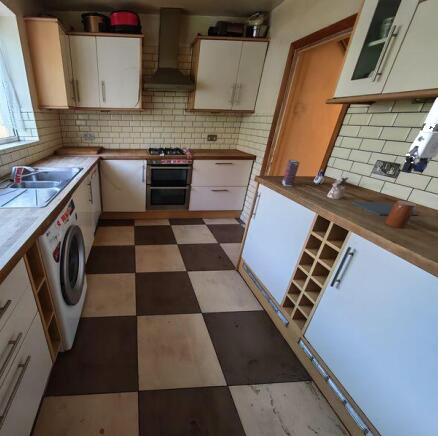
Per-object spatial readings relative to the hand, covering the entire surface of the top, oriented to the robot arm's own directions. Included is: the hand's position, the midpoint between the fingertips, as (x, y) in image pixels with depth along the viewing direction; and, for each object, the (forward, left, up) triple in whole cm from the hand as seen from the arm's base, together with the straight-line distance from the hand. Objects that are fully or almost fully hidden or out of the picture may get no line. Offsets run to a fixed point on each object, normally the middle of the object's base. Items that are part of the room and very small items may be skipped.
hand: (411, 171), depth 100 cm
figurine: (+6, -26, -22) cm, 34 cm away
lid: (0, 0, +3) cm, 3 cm away
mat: (-6, -9, -22) cm, 24 cm away
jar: (+7, +9, -22) cm, 25 cm away
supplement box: (+20, -50, -22) cm, 58 cm away
